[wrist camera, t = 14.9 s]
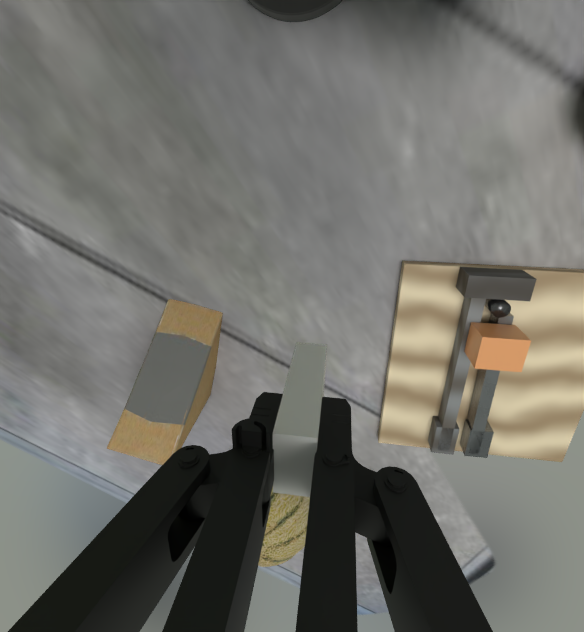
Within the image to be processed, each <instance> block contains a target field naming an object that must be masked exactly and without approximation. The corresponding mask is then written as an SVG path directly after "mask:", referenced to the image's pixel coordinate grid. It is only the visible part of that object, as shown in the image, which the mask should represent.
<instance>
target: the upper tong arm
mask: <svg viewBox="0 0 584 632" xmlns="http://www.w3.org/2000/svg"><path fill="white" fill-rule="evenodd" d="M485 306H486V307H487V309H488V310H489V311H490V312H491V315H490V319H489V323H492V324H507V325H512V322H513V318H514V316H513V315H512V314H511V313H510V311H511V306H510V304H509V303H508V302H506V301H505V300H499V299H486V302H485ZM499 373H500V371H499V370H487V369H478V372H477V376H476V381H475V385H474V389H473V394H472V398H471V403H470V407H469V411H468V416H467V419H465V422H464V427H463V431H462V436H461V440H460V446H461V448H462V451H463V453H464V455H465V456H473V457H484V458H487V456H488V452H489V449H490V445H491V441H492V438H493V434H494V432H493V430H492V428H491V426H490V424H489V422H488V421H487V420H488V416H489V412H490V408H491V404H492V400H493V397H494V393H495V389H496V385H497V381H498V377H499Z"/></svg>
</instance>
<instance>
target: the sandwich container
mask: <svg viewBox="0 0 584 632" xmlns="http://www.w3.org/2000/svg"><path fill="white" fill-rule="evenodd" d="M222 314H223V313H221V312H219V311H215V310H212V309H208V308H205V307H202V306H198V305H195V304H190V303H186V302H181V301H177V300H172V299H169V300H168V302H167V305H166V307H165V310H164V312H163V315H162V318H161V320H160V323H159V325H158V328H157V330H156V333H155V335H154V338H153V340H152V343H151V345H150V348H149V350H148V353H147V355H146V358H145V360H144V362H143V365H142V367H141V369H140V372H139V374H138V377H137V379H136V382H135V384H134V386H133V389H132V391H131V394H130V396H129V399H128V401H127V403H126V406H125V408H124V411H123V413H122V415H121V417H120V420H119V422H118V424H117V426H116V429H115V431H114V433H113V435H112V438H111V440H110V442H109V444H108V446H107V449H111V450H114V451H117V452H120V453H124V454H127V455H130V456H134V457H137V458H140V459H144V460H147V461H150V462H154V463H157V464H160V465H163V464H164V463H165V462H166V461H167V460H168V459H169V458H170V457H171V455H172V454H173V453H175V452H176V451H177V450H179V449H181V447H182V445H183V443H184V441H185V440H186V438H187V436H188V434H189V432H190V431H191V429H192V427H193V425H194V423H195V422H196V420H197V418H198V416H199V414H200V413H201V411H202V409H203V407H204V405H205V404H206V402H207V400H208V398H209V396H210V394H211V388H212V383H213V378H214V373H215V368H216V361H217V353H218V346H219V338H220V330H221V322H222Z"/></svg>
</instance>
